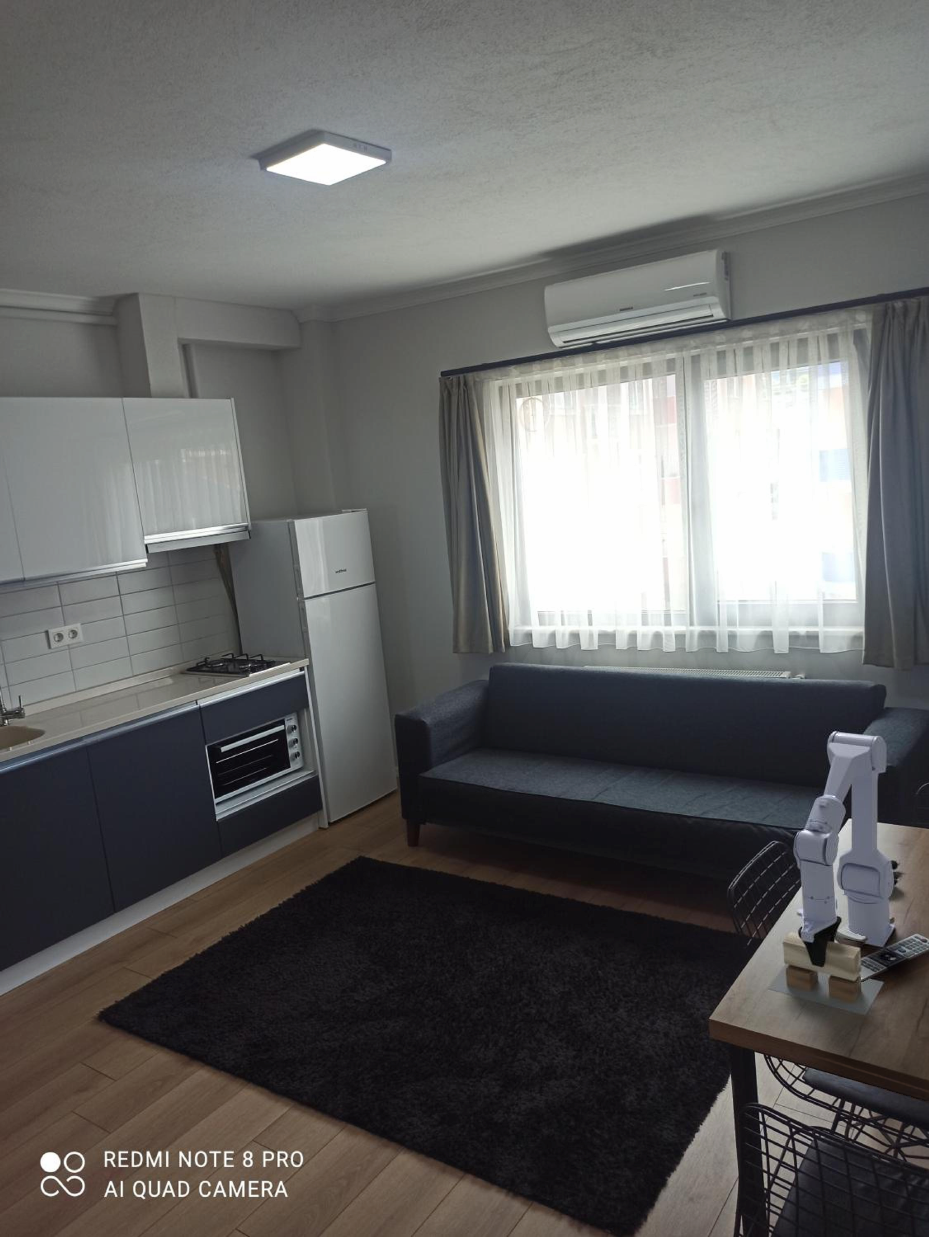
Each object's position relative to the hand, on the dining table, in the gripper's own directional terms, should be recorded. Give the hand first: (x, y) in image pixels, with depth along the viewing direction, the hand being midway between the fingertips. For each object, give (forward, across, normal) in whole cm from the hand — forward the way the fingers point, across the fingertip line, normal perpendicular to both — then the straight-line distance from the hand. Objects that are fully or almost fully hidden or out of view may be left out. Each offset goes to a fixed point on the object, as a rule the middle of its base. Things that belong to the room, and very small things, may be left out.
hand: (821, 959), depth 174 cm
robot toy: (+7, -48, -4) cm, 49 cm away
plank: (+2, 0, 0) cm, 2 cm away
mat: (+6, -1, 0) cm, 6 cm away
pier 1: (+6, 0, -4) cm, 7 cm away
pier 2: (+6, 0, +4) cm, 7 cm away
